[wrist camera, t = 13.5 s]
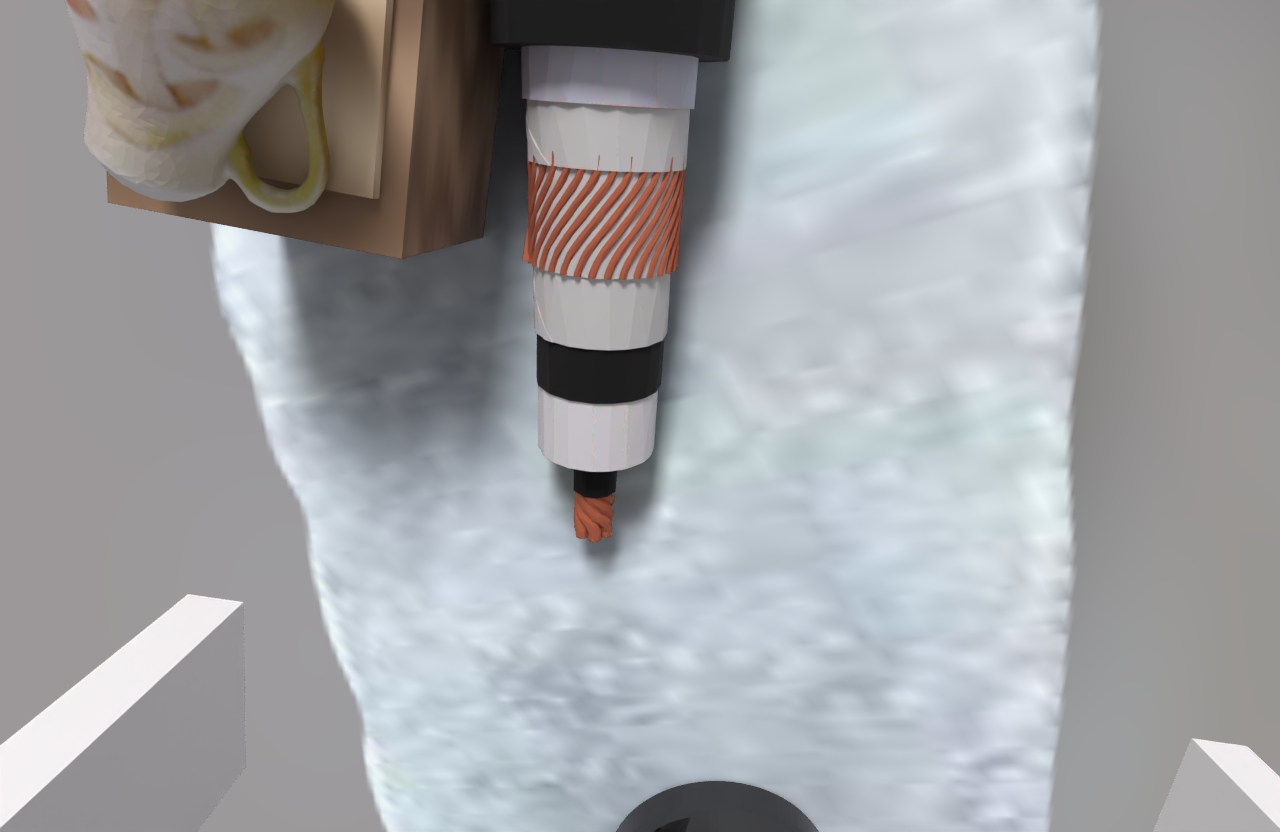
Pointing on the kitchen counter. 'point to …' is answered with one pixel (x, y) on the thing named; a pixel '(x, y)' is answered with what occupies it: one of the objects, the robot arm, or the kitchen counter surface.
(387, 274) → the kitchen counter surface
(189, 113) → the mug
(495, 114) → the plate
